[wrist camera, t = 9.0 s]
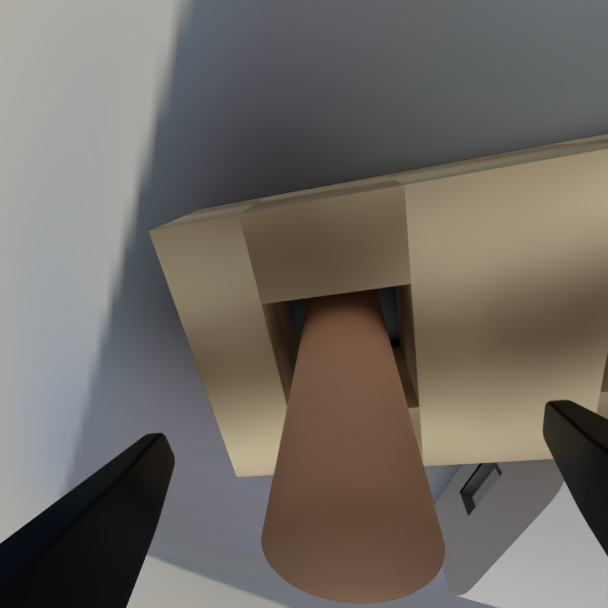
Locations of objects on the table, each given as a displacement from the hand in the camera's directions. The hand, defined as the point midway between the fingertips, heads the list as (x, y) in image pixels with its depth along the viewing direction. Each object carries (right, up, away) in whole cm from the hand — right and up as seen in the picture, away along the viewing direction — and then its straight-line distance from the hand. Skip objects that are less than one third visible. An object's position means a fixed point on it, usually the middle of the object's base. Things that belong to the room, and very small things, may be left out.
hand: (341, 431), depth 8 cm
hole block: (+6, +4, +6) cm, 9 cm away
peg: (+1, +3, +7) cm, 7 cm away
